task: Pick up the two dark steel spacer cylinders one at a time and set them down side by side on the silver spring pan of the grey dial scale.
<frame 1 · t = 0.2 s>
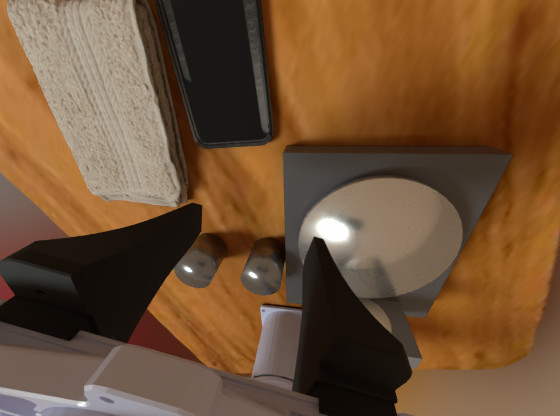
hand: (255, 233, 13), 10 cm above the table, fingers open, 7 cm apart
pan: (372, 246, 20), point 4 cm above the table, slide at -0.2 cm
spacer b: (211, 246, 28), on the table
washcloth: (129, 119, 21), on the table
scale: (364, 224, 23), on the table
phone: (220, 52, 17), on the table
spacer a: (269, 250, 27), on the table
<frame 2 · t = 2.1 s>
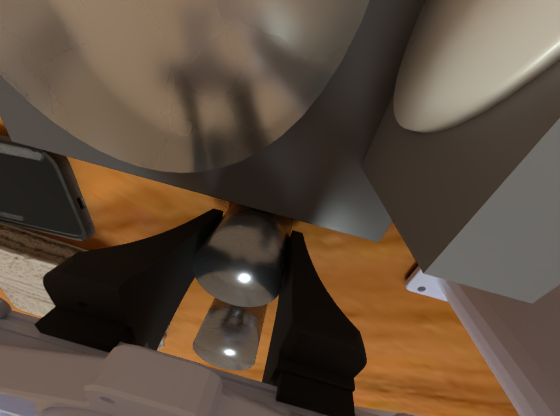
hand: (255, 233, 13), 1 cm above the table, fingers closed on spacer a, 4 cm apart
spacer b: (245, 292, 18), on the table
washcloth: (97, 281, 22), on the table
phone: (2, 176, 16), on the table
spacer a: (260, 220, 14), on the table, touching gripper
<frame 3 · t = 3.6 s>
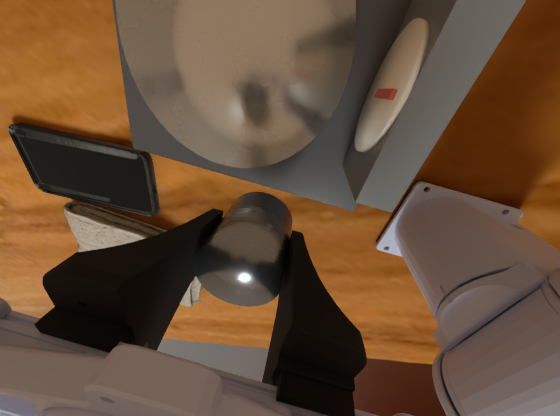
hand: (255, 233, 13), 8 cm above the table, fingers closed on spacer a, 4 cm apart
pan: (233, 54, 12), point 4 cm above the table, slide at -0.2 cm
washcloth: (149, 251, 29), on the table
scale: (250, 61, 16), on the table
phone: (97, 170, 23), on the table
spacer a: (260, 220, 14), point 7 cm above the table, touching gripper
when the fingers open (7 cm above the table, at t = 5.1 s): spacer a drops 1 cm, resting on pan.
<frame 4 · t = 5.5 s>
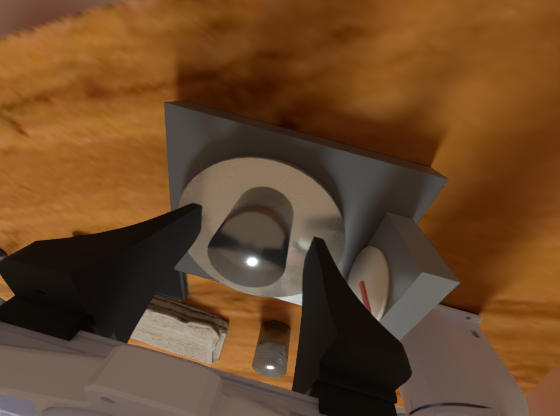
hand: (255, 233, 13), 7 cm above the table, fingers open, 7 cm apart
pan: (259, 238, 17), point 4 cm above the table, slide at -0.3 cm, touching spacer a
spacer b: (275, 329, 30), on the table
washcloth: (176, 317, 34), on the table
scale: (267, 216, 20), on the table
phone: (137, 265, 28), on the table
spacer a: (264, 213, 16), point 4 cm above the table, touching pan
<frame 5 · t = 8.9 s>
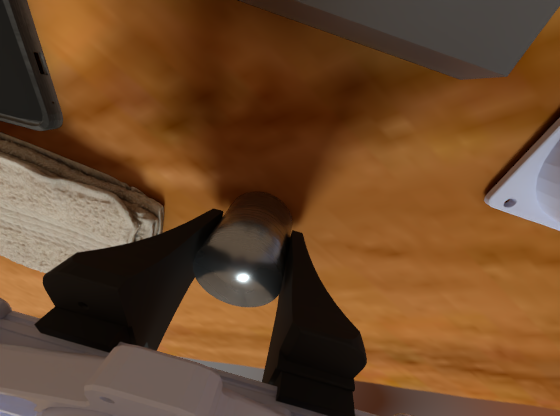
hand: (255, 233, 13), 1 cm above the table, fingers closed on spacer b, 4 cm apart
spacer b: (260, 220, 14), on the table, touching gripper
washcloth: (69, 210, 17), on the table
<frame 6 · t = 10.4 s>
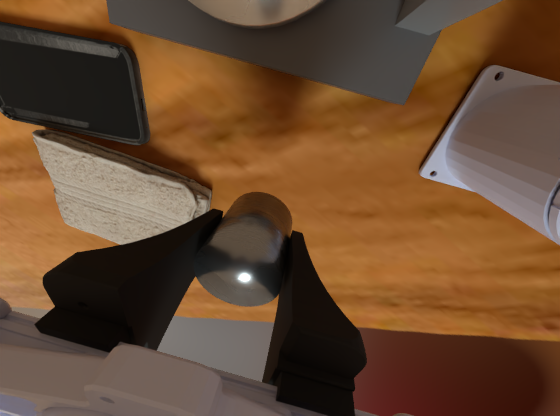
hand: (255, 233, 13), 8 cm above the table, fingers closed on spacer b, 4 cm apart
spacer b: (260, 220, 14), point 7 cm above the table, touching gripper
washcloth: (141, 200, 25), on the table
phone: (72, 87, 19), on the table
when the fingers open (7 cm above the table, at t = 12.0 s): spacer b drops 1 cm, resting on pan.
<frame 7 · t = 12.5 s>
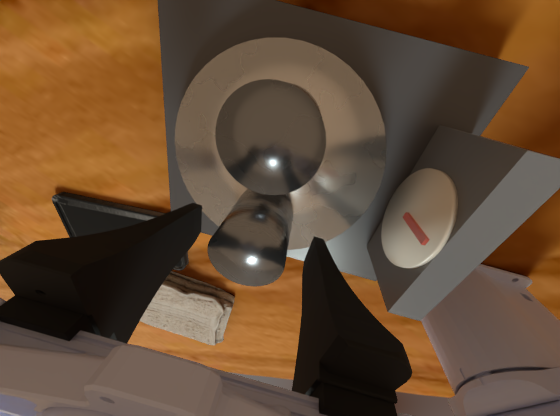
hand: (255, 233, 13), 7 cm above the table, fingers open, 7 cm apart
pan: (275, 168, 14), point 3 cm above the table, slide at -0.4 cm, touching spacer a, spacer b
spacer b: (264, 212, 16), point 4 cm above the table, touching pan
washcloth: (175, 293, 31), on the table
scale: (281, 154, 17), on the table
phone: (130, 229, 25), on the table
spacer a: (284, 125, 12), point 4 cm above the table, touching pan
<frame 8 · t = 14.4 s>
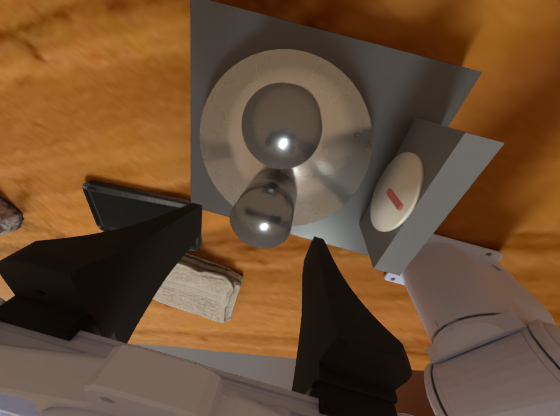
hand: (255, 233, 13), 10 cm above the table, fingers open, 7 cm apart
pan: (282, 154, 17), point 3 cm above the table, slide at -0.4 cm, touching spacer a, spacer b
spacer b: (272, 193, 19), point 4 cm above the table, touching pan
washcloth: (188, 275, 34), on the table
scale: (286, 144, 20), on the table
phone: (150, 214, 28), on the table
spacer a: (290, 118, 15), point 4 cm above the table, touching pan
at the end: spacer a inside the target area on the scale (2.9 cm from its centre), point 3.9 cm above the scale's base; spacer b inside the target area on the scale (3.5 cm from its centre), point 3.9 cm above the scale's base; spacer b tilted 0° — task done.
